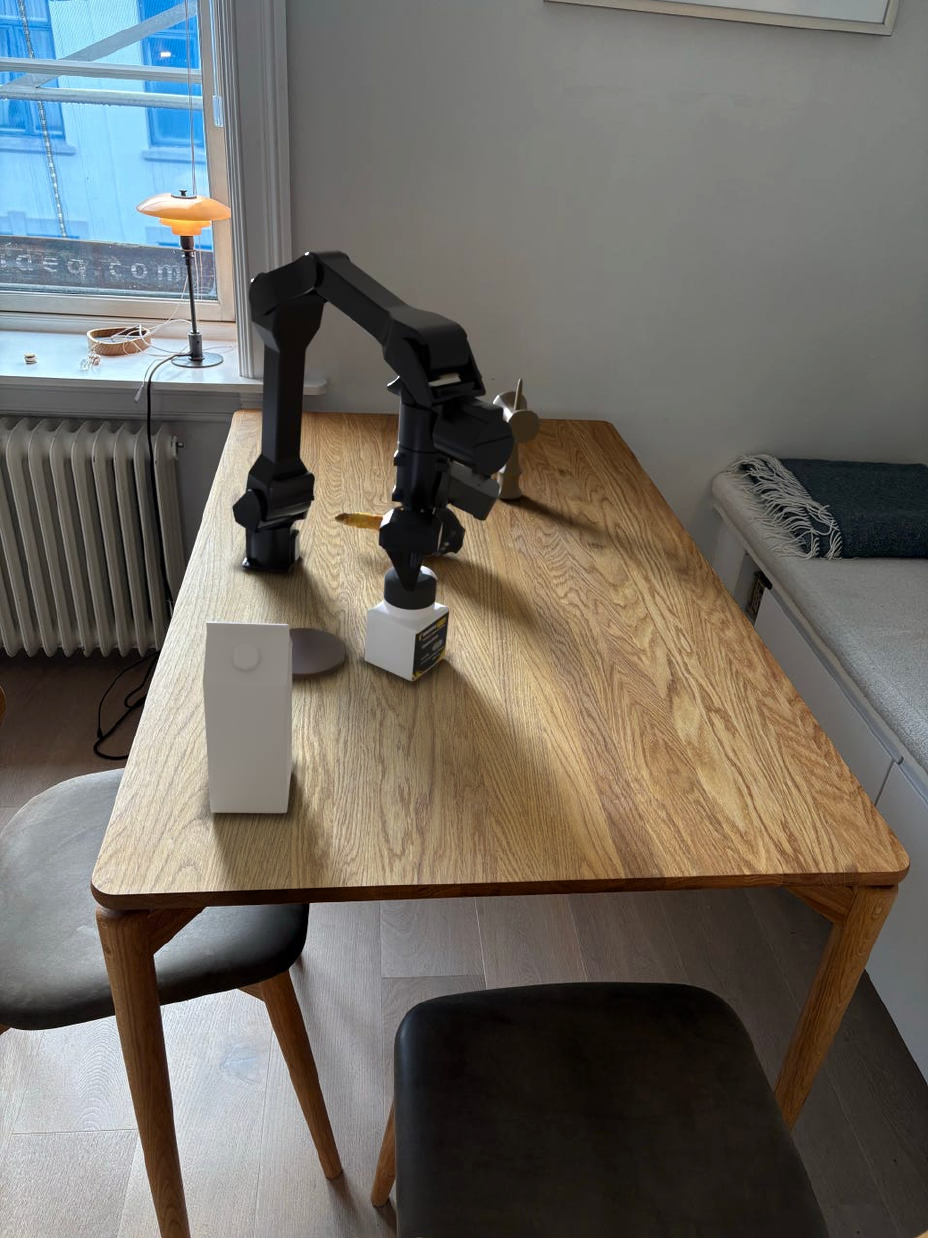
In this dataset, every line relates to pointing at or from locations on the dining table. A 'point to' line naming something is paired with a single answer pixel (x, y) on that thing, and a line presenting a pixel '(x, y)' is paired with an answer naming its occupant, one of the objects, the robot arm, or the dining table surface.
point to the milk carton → (248, 716)
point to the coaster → (315, 653)
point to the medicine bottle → (407, 627)
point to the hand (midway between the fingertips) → (415, 571)
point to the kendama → (523, 430)
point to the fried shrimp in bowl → (450, 526)
